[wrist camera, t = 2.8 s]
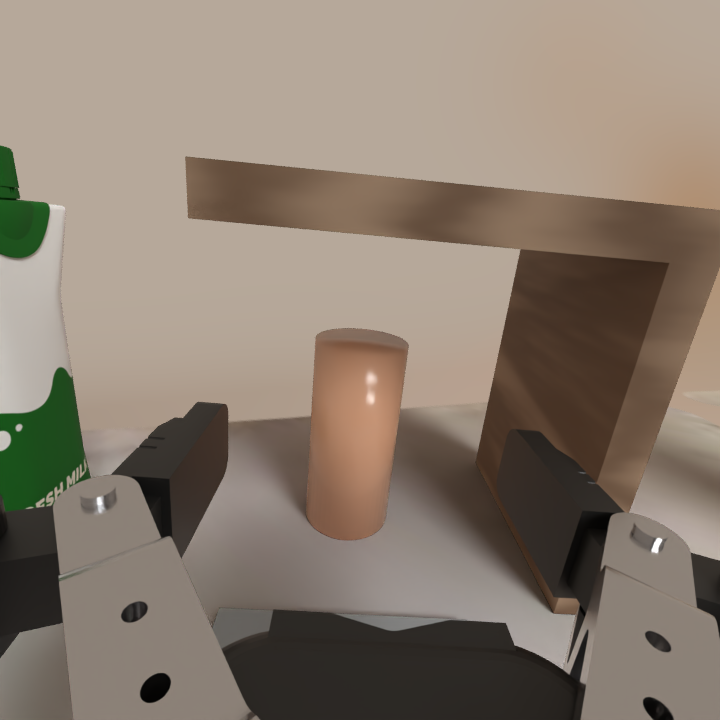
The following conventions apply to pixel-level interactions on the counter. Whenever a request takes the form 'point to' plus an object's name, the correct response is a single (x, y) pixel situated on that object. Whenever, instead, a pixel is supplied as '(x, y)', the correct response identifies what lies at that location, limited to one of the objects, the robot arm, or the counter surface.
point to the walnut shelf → (529, 298)
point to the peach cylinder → (353, 430)
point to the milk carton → (34, 354)
